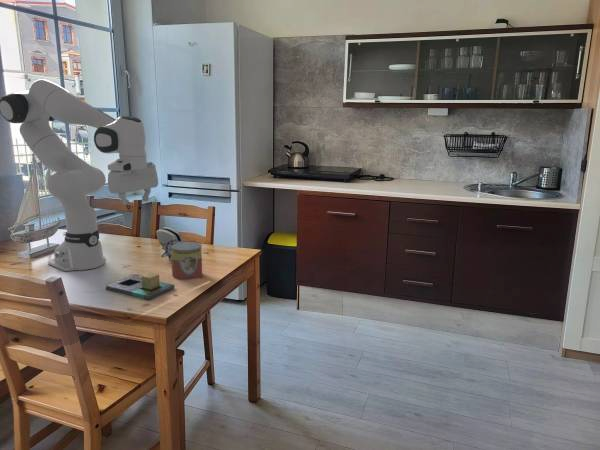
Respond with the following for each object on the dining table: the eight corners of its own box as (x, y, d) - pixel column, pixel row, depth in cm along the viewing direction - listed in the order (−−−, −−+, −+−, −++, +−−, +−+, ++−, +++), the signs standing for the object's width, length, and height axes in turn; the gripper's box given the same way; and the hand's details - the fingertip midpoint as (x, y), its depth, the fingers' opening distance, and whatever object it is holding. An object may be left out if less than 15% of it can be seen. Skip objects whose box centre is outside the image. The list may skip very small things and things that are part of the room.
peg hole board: (106, 290, 160) (105, 285, 160) (132, 280, 170) (132, 275, 170) (149, 301, 151) (149, 296, 151) (174, 290, 162) (174, 284, 161)
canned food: (174, 282, 169) (173, 251, 167) (170, 273, 179) (168, 243, 177) (205, 278, 174) (204, 248, 171) (199, 269, 184) (198, 240, 181)
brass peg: (142, 292, 158) (141, 276, 156) (151, 288, 161) (150, 272, 160) (151, 294, 156) (150, 278, 155) (159, 291, 160) (159, 274, 158)
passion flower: (177, 275, 193) (160, 256, 186) (169, 263, 201) (153, 245, 194) (198, 258, 195) (183, 239, 188) (189, 247, 204) (175, 229, 196)
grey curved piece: (189, 247, 214) (182, 229, 209) (181, 253, 211) (174, 234, 206) (168, 241, 224) (161, 223, 220) (160, 246, 222) (153, 228, 217)
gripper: (148, 161, 172) (150, 197, 175) (103, 165, 154) (106, 206, 157) (161, 162, 169) (163, 199, 172) (117, 166, 151) (120, 208, 155)
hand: (135, 202), depth 165 cm, fingers open, 8 cm apart
